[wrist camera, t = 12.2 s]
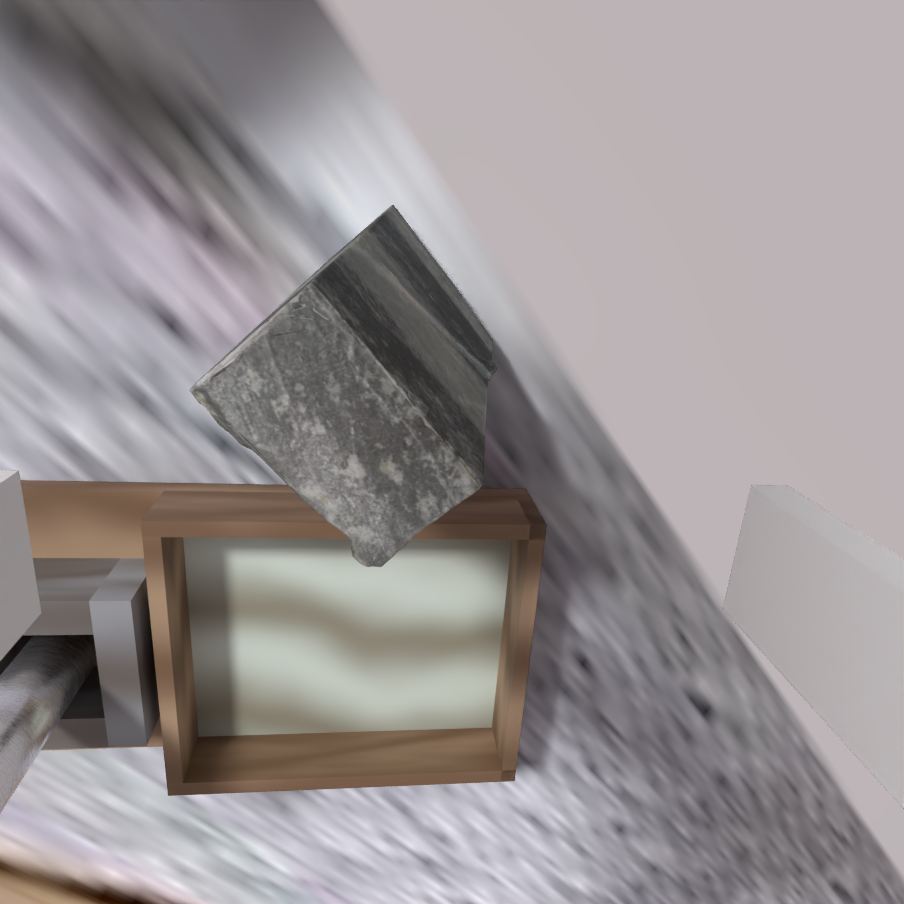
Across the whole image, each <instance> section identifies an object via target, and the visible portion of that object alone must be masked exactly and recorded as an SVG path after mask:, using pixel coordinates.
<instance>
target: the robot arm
mask: <svg viewBox="0 0 904 904" xmlns="http://www.w3.org/2000/svg"><path fill="white" fill-rule="evenodd" d="M723 610H724V611H725V612H726V613H727V614H728V615H729V617H730V618H731V619H732V620H733V621H734V622H735V623H736V624H737V625H738V626H739V628H740V629H741V630H742V631H743V632H744V633H745V634H746V635H747V636H748V637H749V639H750V640H751V641H752V642H753V643H754V644H755V645H756V646H757V647H758V649H759V650H760V651H761V652H762V653H763V654H764V655H765V656H766V657H767V658H768V660H769V661H770V662H771V663H772V664H773V665H774V666H775V667H776V668H777V669H778V671H779V672H780V673H781V674H782V675H783V676H784V677H785V678H786V679H787V681H788V682H789V683H790V684H791V685H792V686H793V687H794V688H795V689H796V690H797V692H798V693H799V694H800V695H801V696H802V697H803V698H804V699H805V700H806V701H807V703H808V704H809V705H810V706H811V707H812V708H813V709H814V710H815V711H816V713H817V714H818V715H819V716H820V717H821V718H822V719H823V720H824V721H825V722H826V723H827V725H828V726H829V727H830V728H831V729H832V730H833V731H834V732H835V734H837V736H838V737H839V738H840V739H841V740H842V741H843V742H844V743H845V745H846V746H847V747H848V748H849V749H850V750H851V751H852V752H853V753H854V754H855V756H856V757H857V758H858V759H859V760H860V761H861V762H862V763H863V764H864V765H865V767H866V768H867V769H868V770H869V771H870V772H871V773H872V774H873V775H874V776H875V778H876V779H877V780H878V781H879V782H880V783H881V784H882V785H883V786H884V788H885V789H886V790H887V791H888V792H889V793H890V794H891V795H892V796H893V798H894V799H895V800H896V801H897V802H898V803H899V804H900V805H901V806H902V807H903V809H904V559H903V558H901V557H900V556H898V555H897V554H895V553H893V552H892V551H890V550H889V549H887V548H885V547H884V546H882V545H881V544H879V543H877V542H876V541H874V540H873V539H871V538H870V537H868V536H867V535H865V534H863V533H862V532H860V531H858V530H857V529H855V528H854V527H852V526H851V525H849V524H847V523H846V522H844V521H843V520H841V519H840V518H838V517H836V516H835V515H833V514H832V513H830V512H829V511H827V510H825V509H824V508H822V507H820V506H819V505H817V504H816V503H814V502H813V501H811V500H810V499H808V498H806V497H805V496H803V495H802V494H800V493H798V492H797V491H795V490H794V489H792V488H791V487H789V486H775V485H751V488H750V492H749V497H748V501H747V505H746V510H745V514H744V518H743V522H742V527H741V531H740V535H739V540H738V544H737V548H736V553H735V557H734V562H733V566H732V570H731V575H730V579H729V583H728V588H727V592H726V596H725V601H724V605H723ZM40 614H41V607H40V601H39V595H38V588H37V582H36V576H35V570H34V563H33V557H32V551H31V544H30V538H29V532H28V526H27V519H26V513H25V507H24V501H23V494H22V488H21V482H20V475H19V470H0V661H1V660H2V658H3V657H4V656H5V655H6V654H7V653H8V651H9V650H10V649H11V648H12V647H13V646H14V644H15V643H16V642H17V641H18V640H19V639H20V637H21V636H22V635H23V634H24V633H25V632H26V630H27V629H28V628H29V627H30V626H31V625H32V623H33V622H34V621H35V620H36V619H37V618H38V616H39V615H40Z"/></svg>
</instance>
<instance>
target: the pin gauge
mask: <svg viewBox="0 0 904 904" xmlns="http://www.w3.org/2000/svg"><path fill="white" fill-rule="evenodd" d="M96 662H97V657H96V649H95V642H94V635H33V637H32V638H31V639H30V640H29V641H28V643H27V644H26V645H25V646H24V647H23V649H22V650H21V651H20V652H19V654H18V655H17V656H16V657H15V658H14V660H13V661H12V662H11V663H10V664H9V666H8V667H7V668H6V669H5V671H4V672H3V673H2V674H1V675H0V813H1V812H2V810H3V809H4V807H5V805H6V804H7V802H8V801H9V799H10V797H11V796H12V794H13V793H14V791H15V790H16V788H17V786H18V785H19V783H20V782H21V780H22V779H23V777H24V775H25V774H26V772H27V771H28V769H29V768H30V766H31V764H32V763H33V761H34V760H35V758H36V756H37V755H38V753H39V752H40V750H41V749H42V747H43V745H44V744H45V742H46V741H47V739H48V738H49V736H50V734H51V733H52V731H53V730H54V728H55V726H56V725H57V723H58V722H59V720H60V719H61V717H62V715H63V714H64V712H65V711H66V709H67V708H68V706H69V704H70V703H71V701H72V700H73V698H74V697H75V695H76V693H77V692H78V690H79V689H80V687H81V685H82V684H83V682H84V681H85V679H86V678H87V676H88V674H89V673H90V671H91V670H92V668H93V667H94V665H95V663H96Z"/></svg>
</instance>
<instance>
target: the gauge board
mask: <svg viewBox="0 0 904 904" xmlns="http://www.w3.org/2000/svg"><path fill="white" fill-rule="evenodd" d="M20 482H21V488H22V494H23V501H24V507H25V513H26V519H27V526H28V532H29V538H30V544H31V551H32V557H33V563H34V570H35V576H36V582H37V588H38V595H39V601H40V607H41V614H40V615H39V616H38V618H37V619H36V620H35V621H34V622H33V623H32V625H31V626H30V627H29V628H28V629H27V630H26V632H25V633H24V634H23V635H22V636H21V637H20V639H19V640H18V641H17V642H16V643H15V644H14V646H13V647H12V648H11V649H10V650H9V651H8V653H7V654H6V655H5V656H4V657H3V658H2V660H1V661H0V675H1V674H2V673H3V672H4V671H5V669H6V668H7V667H8V666H9V664H10V663H11V662H12V661H13V660H14V658H15V657H16V656H17V655H18V654H19V652H20V651H21V650H22V649H23V647H24V646H25V645H26V644H27V643H28V641H29V640H30V639H31V638H32V637H33V635H94V642H95V649H96V657H97V662H96V663H95V665H94V667H93V668H92V670H91V671H90V673H89V674H88V676H87V678H86V679H85V681H84V682H83V684H82V685H81V687H80V689H79V690H78V692H77V693H76V695H75V697H74V698H73V700H72V701H71V703H70V704H69V706H68V708H67V709H66V711H65V712H64V714H63V715H62V717H61V719H60V720H59V722H58V723H57V725H56V726H55V728H54V730H53V731H52V733H51V734H50V736H49V738H48V739H47V741H46V742H45V744H44V745H43V747H42V749H41V750H68V749H98V748H129V747H159V746H163V749H164V759H165V769H166V779H167V789H168V796H172V795H196V794H220V793H243V792H267V791H291V790H314V789H338V788H362V787H385V786H409V785H433V784H456V783H480V782H504V781H515V773H516V765H517V757H518V749H519V741H520V733H521V725H522V717H523V709H524V701H525V693H526V685H527V677H528V669H529V661H530V653H531V645H532V637H533V629H534V621H535V613H536V605H537V597H538V589H539V581H540V574H541V566H542V558H543V550H544V542H545V534H546V526H547V525H546V523H545V521H544V520H543V518H542V516H541V514H540V513H539V511H538V509H537V507H536V506H535V504H534V502H533V500H532V498H531V497H530V495H529V493H528V491H527V490H526V489H495V488H480V489H479V490H478V491H476V492H475V493H474V494H472V495H471V496H469V497H468V498H467V499H465V500H464V501H462V502H461V503H459V504H458V505H456V506H455V507H454V508H452V509H451V510H449V511H448V512H447V513H445V514H444V515H443V516H441V517H440V518H438V519H437V520H436V521H434V522H433V523H431V524H430V525H428V526H427V527H426V528H424V529H423V530H421V531H420V532H419V533H417V534H416V535H415V536H414V537H413V538H411V539H410V540H409V541H408V543H407V544H406V545H405V546H404V548H402V549H401V550H399V551H398V552H397V553H396V554H395V555H394V556H393V558H391V559H390V560H389V561H388V562H387V563H385V564H384V565H383V566H382V567H374V566H372V567H366V566H364V565H362V564H360V563H359V562H358V561H357V560H356V559H355V558H354V557H353V556H352V550H351V546H352V543H351V540H350V539H349V538H348V537H347V536H346V535H345V534H344V533H343V532H341V531H340V530H339V529H338V528H336V527H335V526H334V525H333V524H331V523H330V522H327V521H326V520H325V519H324V518H323V517H322V516H321V515H320V514H319V513H318V512H317V511H316V510H314V509H313V508H312V507H311V506H310V505H308V504H307V503H306V502H305V501H304V500H303V499H301V498H300V497H299V496H298V495H297V494H296V493H295V492H294V491H293V489H292V488H291V487H290V486H289V485H261V484H202V483H144V482H85V481H27V480H20Z"/></svg>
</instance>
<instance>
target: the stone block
mask: <svg viewBox="0 0 904 904" xmlns="http://www.w3.org/2000/svg"><path fill="white" fill-rule="evenodd" d="M492 342H493V340H492V338H491V337H490V335H489V334H488V333H487V331H486V330H485V328H484V327H483V326H482V324H481V323H480V322H479V320H478V319H477V318H476V316H475V315H474V314H473V312H472V311H471V309H470V308H469V306H468V305H467V303H466V302H465V300H464V299H463V297H462V296H461V294H460V293H459V291H458V290H457V289H456V287H455V286H454V284H453V283H452V282H451V280H450V279H449V278H448V276H447V275H446V274H445V272H444V271H443V270H442V268H441V267H440V266H439V265H438V263H437V262H436V261H435V260H434V258H433V257H432V256H431V254H430V253H429V252H428V251H427V249H426V248H425V247H424V245H423V244H422V243H421V241H420V240H419V238H418V237H417V236H416V234H415V233H414V232H413V230H412V229H411V227H410V226H409V225H408V223H407V222H406V221H405V219H404V218H403V217H402V215H401V214H400V213H399V211H398V210H397V209H396V208H395V206H394V205H392V206H391V207H390V208H388V209H387V210H386V211H385V212H384V213H382V214H381V215H380V216H379V217H378V218H377V219H375V220H374V221H373V222H372V223H371V224H370V225H368V226H367V227H366V228H365V229H364V230H363V231H362V232H361V233H359V234H358V235H357V236H356V237H355V238H354V239H353V240H351V241H350V242H349V243H348V244H347V245H346V246H344V247H343V248H342V249H341V250H340V251H339V252H337V253H336V254H335V255H334V256H333V257H332V258H331V259H329V260H328V261H327V262H326V263H325V264H324V265H323V266H322V267H321V268H320V269H319V270H317V271H316V272H315V273H314V274H313V275H312V276H311V277H310V278H309V279H308V280H307V281H305V282H304V283H303V284H302V285H301V286H300V287H299V288H298V289H297V290H296V291H294V292H293V293H292V294H291V295H290V296H289V297H288V298H287V299H286V300H285V301H284V302H283V303H282V304H281V305H280V306H279V307H278V308H277V309H276V310H275V311H274V312H273V313H272V314H270V315H269V316H268V317H267V318H266V319H265V320H264V321H263V322H262V323H261V324H259V325H258V326H257V327H256V328H255V329H254V330H253V331H252V332H251V333H250V334H249V335H247V336H246V337H245V338H244V339H243V340H242V341H241V342H240V343H239V344H238V345H237V346H236V347H235V348H233V349H232V350H231V351H230V352H229V353H228V354H227V355H226V356H225V357H224V358H223V359H222V360H221V361H220V362H218V363H217V364H216V365H215V366H214V367H213V368H212V369H211V370H210V371H209V372H207V373H206V374H205V375H204V376H203V377H202V378H201V379H200V380H199V381H198V382H196V383H195V384H194V385H193V386H192V387H191V388H190V390H189V391H190V392H191V393H192V394H193V395H194V397H195V398H196V399H197V401H198V402H199V403H200V404H202V405H203V406H205V407H206V409H207V410H208V411H209V412H210V414H211V415H212V416H213V417H214V419H215V420H216V421H217V423H218V424H219V425H220V426H221V427H223V428H224V429H225V430H226V431H228V432H229V433H230V434H231V435H232V436H233V437H234V438H235V439H236V440H237V441H238V442H239V443H240V444H241V445H243V446H245V447H247V448H249V449H251V450H253V451H254V452H255V453H256V454H257V455H258V456H260V457H261V458H262V459H263V460H264V461H265V462H266V463H267V464H268V465H269V466H270V467H271V468H272V469H273V470H274V471H275V472H276V473H277V474H278V475H279V476H280V477H281V478H282V479H283V480H284V481H285V482H286V483H287V484H288V485H289V486H290V487H291V488H292V489H293V491H294V492H295V493H296V494H297V495H298V496H299V497H300V498H301V499H303V500H304V501H305V502H306V503H307V504H308V505H310V506H311V507H312V508H313V509H314V510H316V511H317V512H318V513H319V514H320V515H321V516H322V517H323V518H324V519H325V520H326V521H327V522H330V523H331V524H333V525H334V526H335V527H336V528H338V529H339V530H340V531H341V532H343V533H344V534H345V535H346V536H347V537H348V538H349V539H350V540H351V543H352V546H351V550H352V556H353V557H354V558H355V559H356V560H357V561H358V562H359V563H360V564H362V565H364V566H366V567H372V566H374V567H382V566H383V565H384V564H385V563H387V562H388V561H389V560H390V559H391V558H393V556H394V555H395V554H396V553H397V552H398V551H399V550H401V549H402V548H404V546H405V545H406V544H407V543H408V541H409V540H410V539H411V538H413V537H414V536H415V535H416V534H417V533H419V532H420V531H421V530H423V529H424V528H426V527H427V526H428V525H430V524H431V523H433V522H434V521H436V520H437V519H438V518H440V517H441V516H443V515H444V514H445V513H447V512H448V511H449V510H451V509H452V508H454V507H455V506H456V505H458V504H459V503H461V502H462V501H464V500H465V499H467V498H468V497H469V496H471V495H472V494H474V493H475V492H476V491H478V490H479V489H480V488H481V486H482V485H483V475H484V444H485V427H486V411H487V393H488V381H489V379H490V378H491V377H492V375H493V374H494V373H495V371H496V370H497V367H496V365H495V364H494V363H493V362H492Z"/></svg>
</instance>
